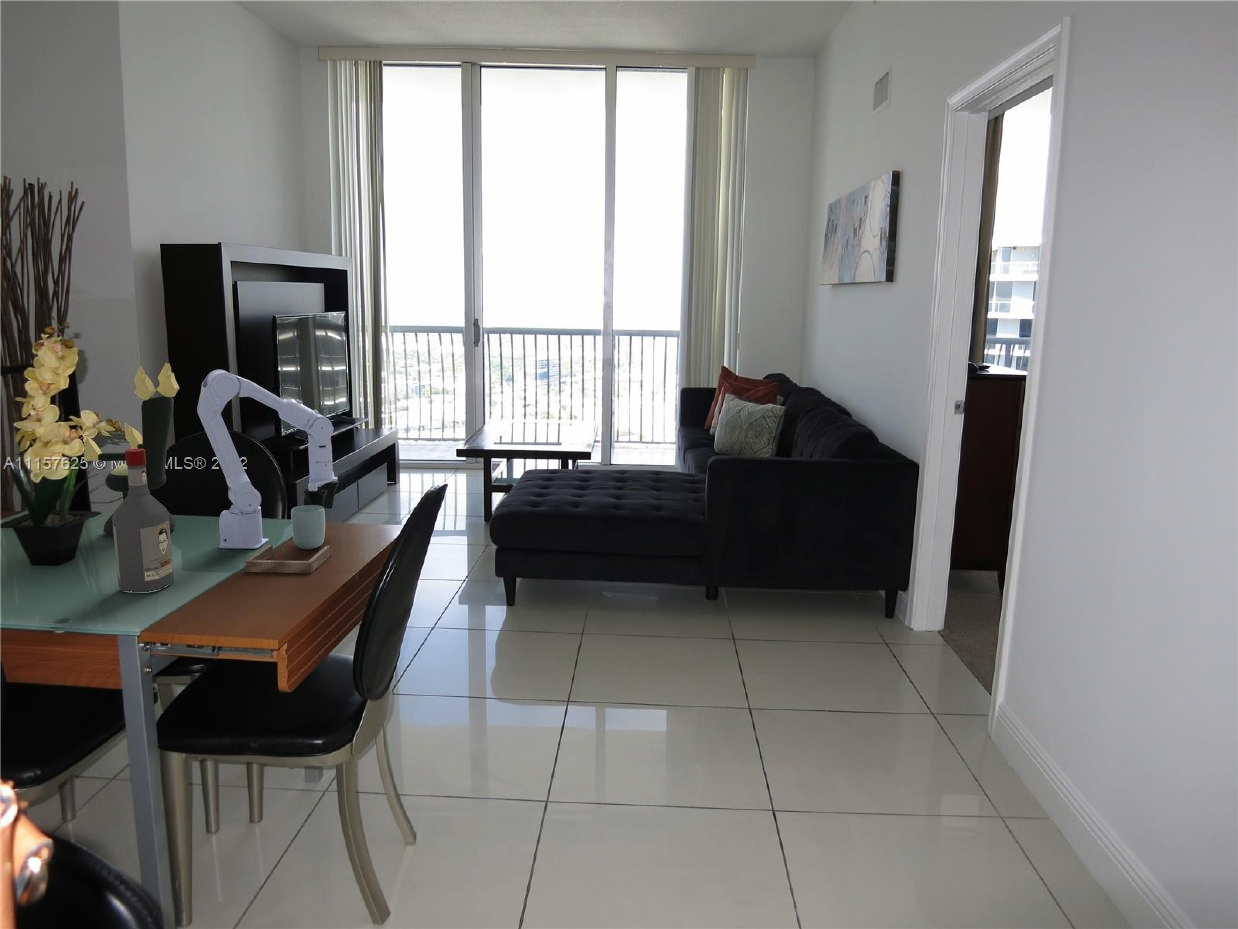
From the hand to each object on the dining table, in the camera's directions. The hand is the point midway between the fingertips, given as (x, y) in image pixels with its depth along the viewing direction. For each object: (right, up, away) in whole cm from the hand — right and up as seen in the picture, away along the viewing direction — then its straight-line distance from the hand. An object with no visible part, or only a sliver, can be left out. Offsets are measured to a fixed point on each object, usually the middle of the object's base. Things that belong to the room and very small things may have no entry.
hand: (323, 511), depth 229 cm
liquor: (-24, -14, -41) cm, 50 cm away
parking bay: (0, -11, -22) cm, 25 cm away
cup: (0, -9, -10) cm, 13 cm away
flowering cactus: (-46, -6, +1) cm, 47 cm away
